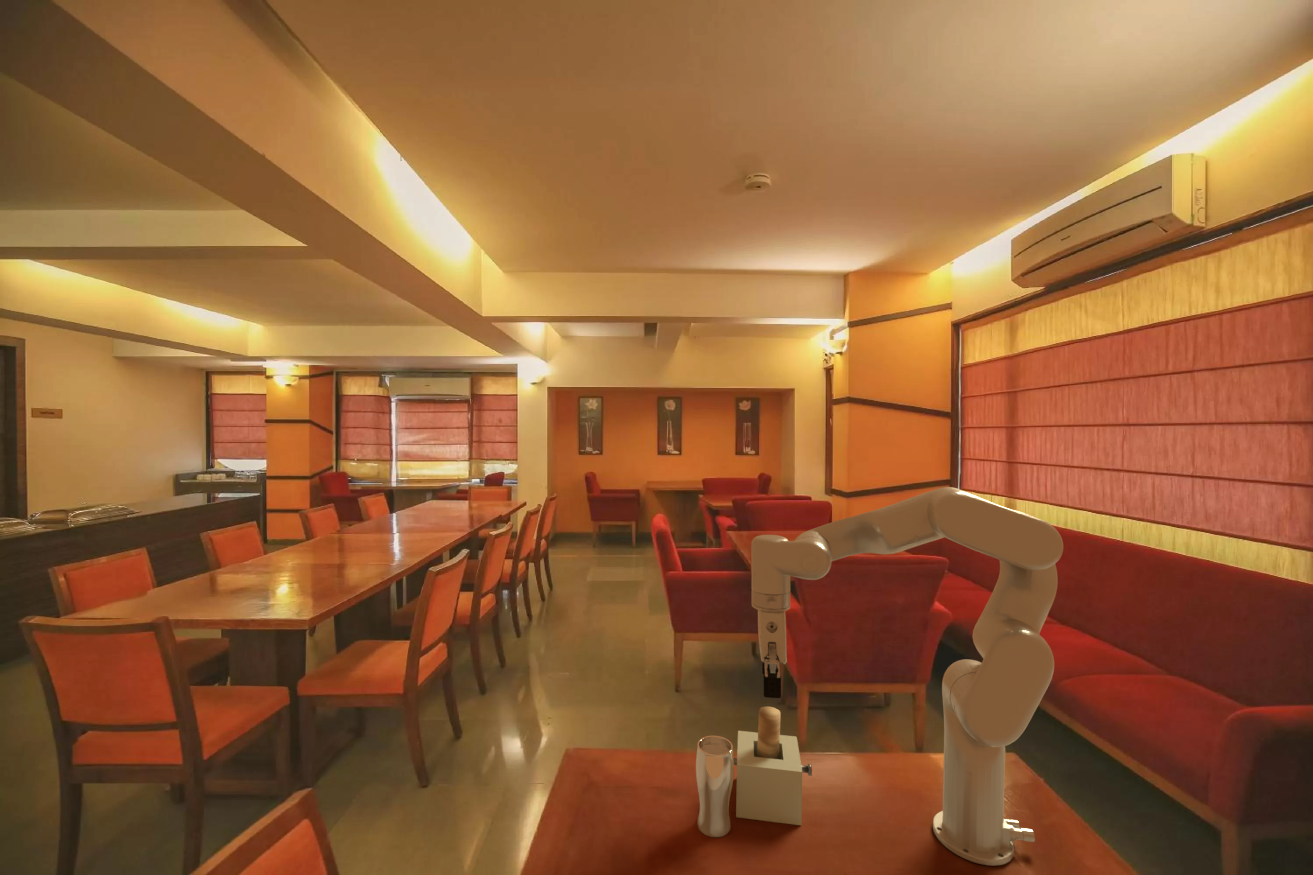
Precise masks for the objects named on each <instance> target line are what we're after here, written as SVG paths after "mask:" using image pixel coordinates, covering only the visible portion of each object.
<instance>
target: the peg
mask: <svg viewBox="0 0 1313 875" xmlns="http://www.w3.org/2000/svg"><path fill="white" fill-rule="evenodd" d="M781 713H782V712H781V710H779V709H777V708H776V707H773V706H761V707H760V708H759V709H758V721H757V722H758V725H757V727H758V728H757V733H758V747H757V757H761V758H771V759H779V741H780V735H781Z"/></svg>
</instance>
